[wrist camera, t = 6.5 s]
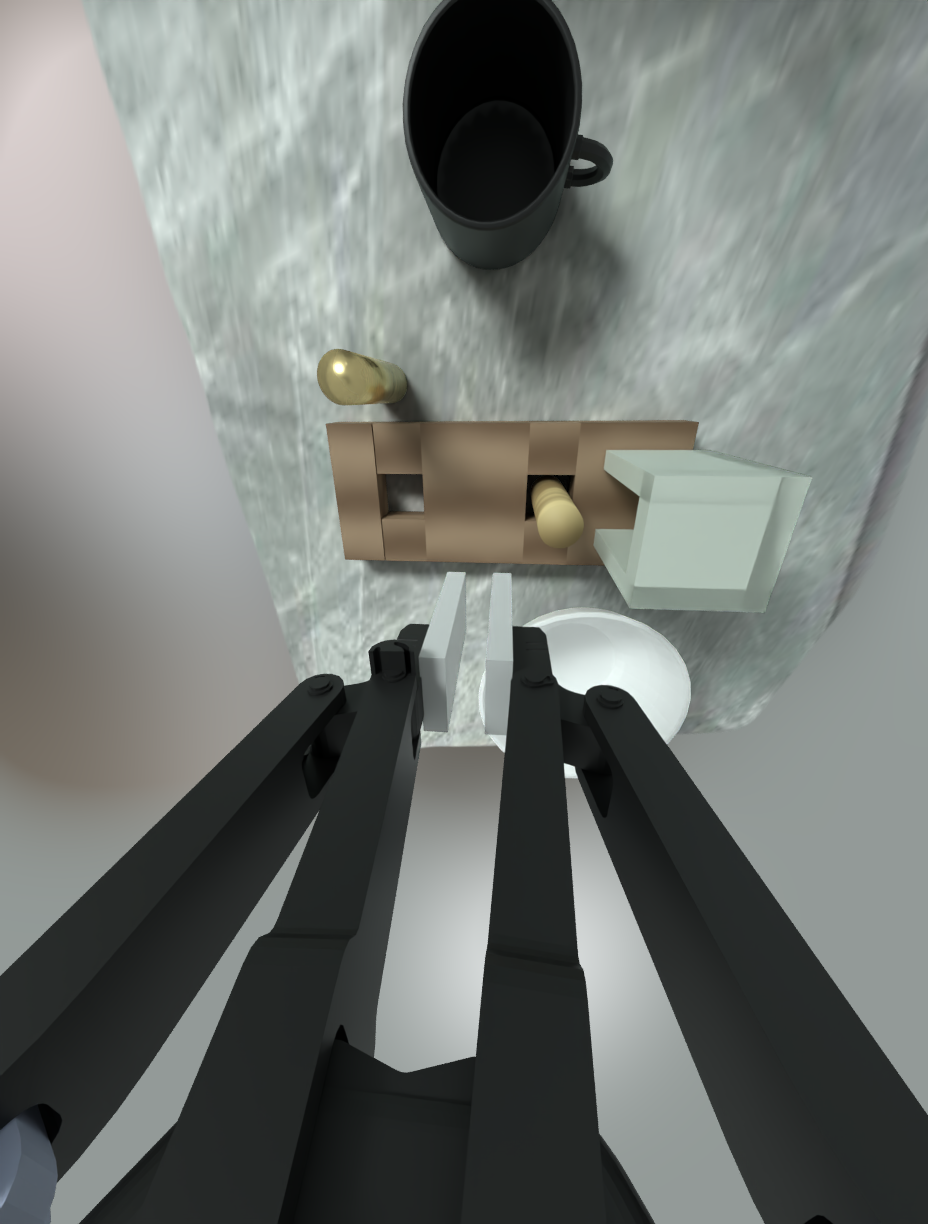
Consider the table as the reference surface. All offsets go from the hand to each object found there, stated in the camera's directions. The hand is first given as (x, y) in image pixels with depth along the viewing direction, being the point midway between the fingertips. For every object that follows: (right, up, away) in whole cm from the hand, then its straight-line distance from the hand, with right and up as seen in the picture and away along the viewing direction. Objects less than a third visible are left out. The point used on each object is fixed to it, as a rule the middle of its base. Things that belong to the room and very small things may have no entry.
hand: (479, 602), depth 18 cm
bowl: (+11, -5, +29) cm, 32 cm away
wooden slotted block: (+3, +11, +22) cm, 24 cm away
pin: (-7, +19, +18) cm, 27 cm away
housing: (+15, +9, +18) cm, 25 cm away
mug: (+3, +30, +12) cm, 32 cm away
